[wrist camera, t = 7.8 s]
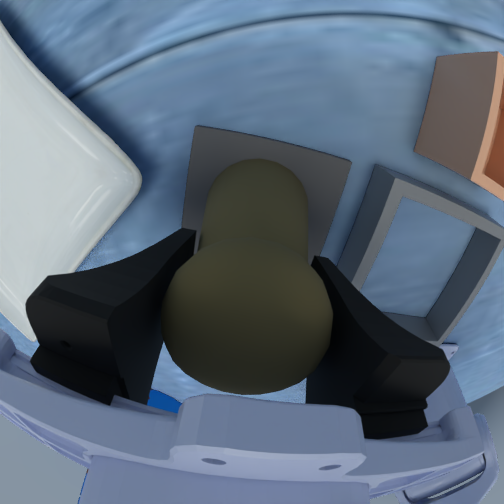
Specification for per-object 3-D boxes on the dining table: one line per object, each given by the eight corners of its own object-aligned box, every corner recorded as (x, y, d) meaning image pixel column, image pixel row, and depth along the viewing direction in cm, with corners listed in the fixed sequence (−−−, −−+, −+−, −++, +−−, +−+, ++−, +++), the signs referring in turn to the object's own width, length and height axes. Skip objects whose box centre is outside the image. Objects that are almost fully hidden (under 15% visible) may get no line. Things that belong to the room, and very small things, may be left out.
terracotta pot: (480, 186, 15) (532, 222, 9) (413, 151, 14) (470, 179, 9) (502, 105, 11) (559, 121, 6) (436, 56, 11) (498, 51, 5)
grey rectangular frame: (426, 324, 21) (438, 347, 19) (317, 309, 21) (322, 338, 18) (488, 215, 16) (510, 232, 13) (375, 164, 15) (395, 177, 12)
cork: (207, 249, 18) (156, 403, 8) (206, 156, 15) (104, 263, 5) (301, 255, 18) (326, 417, 8) (314, 163, 15) (392, 283, 5)
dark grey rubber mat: (306, 282, 19) (307, 287, 19) (181, 256, 19) (178, 261, 18) (349, 160, 15) (351, 162, 14) (197, 125, 14) (194, 126, 14)
